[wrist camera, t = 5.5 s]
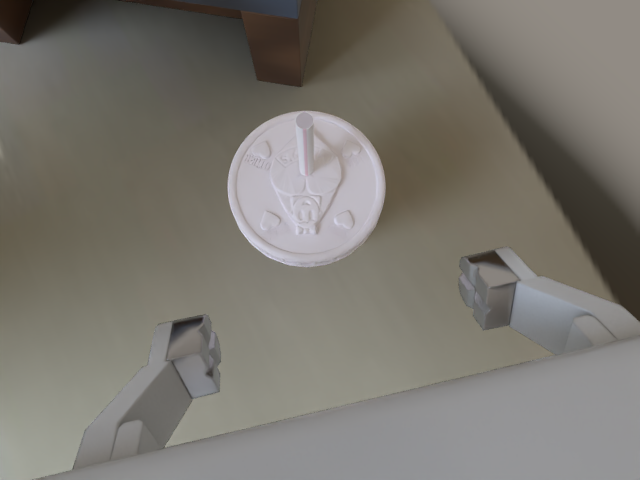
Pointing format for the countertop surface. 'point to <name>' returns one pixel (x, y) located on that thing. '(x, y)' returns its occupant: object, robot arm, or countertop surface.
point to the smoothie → (306, 188)
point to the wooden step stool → (244, 3)
